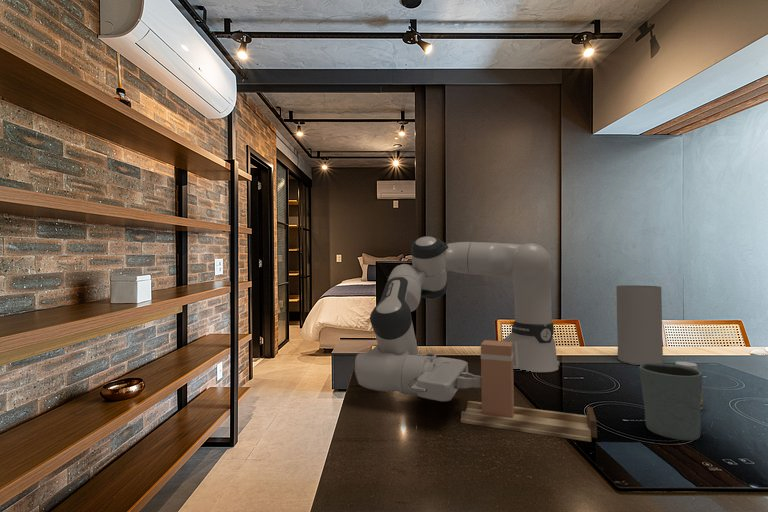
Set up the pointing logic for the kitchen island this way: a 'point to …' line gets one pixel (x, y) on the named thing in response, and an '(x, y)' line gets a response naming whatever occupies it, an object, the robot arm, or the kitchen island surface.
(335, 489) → the kitchen island surface
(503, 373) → the block
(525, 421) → the chute
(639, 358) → the cylinder vase
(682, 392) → the green cup
